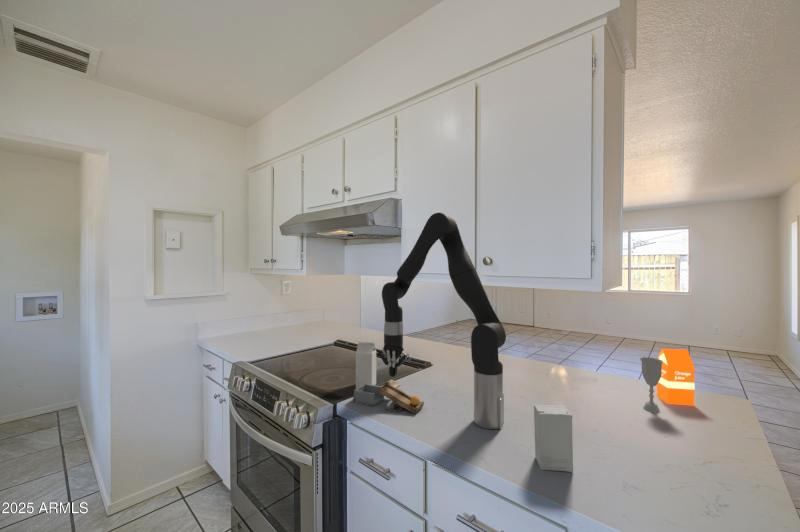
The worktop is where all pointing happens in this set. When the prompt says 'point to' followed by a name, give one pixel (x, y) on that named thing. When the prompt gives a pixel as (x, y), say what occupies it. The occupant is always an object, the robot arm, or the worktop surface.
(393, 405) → the fulcrum
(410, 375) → the worktop surface
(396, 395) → the lever
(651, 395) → the chalice
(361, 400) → the tray
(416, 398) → the ball
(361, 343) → the milk carton
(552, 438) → the skincare box
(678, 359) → the orange juice
